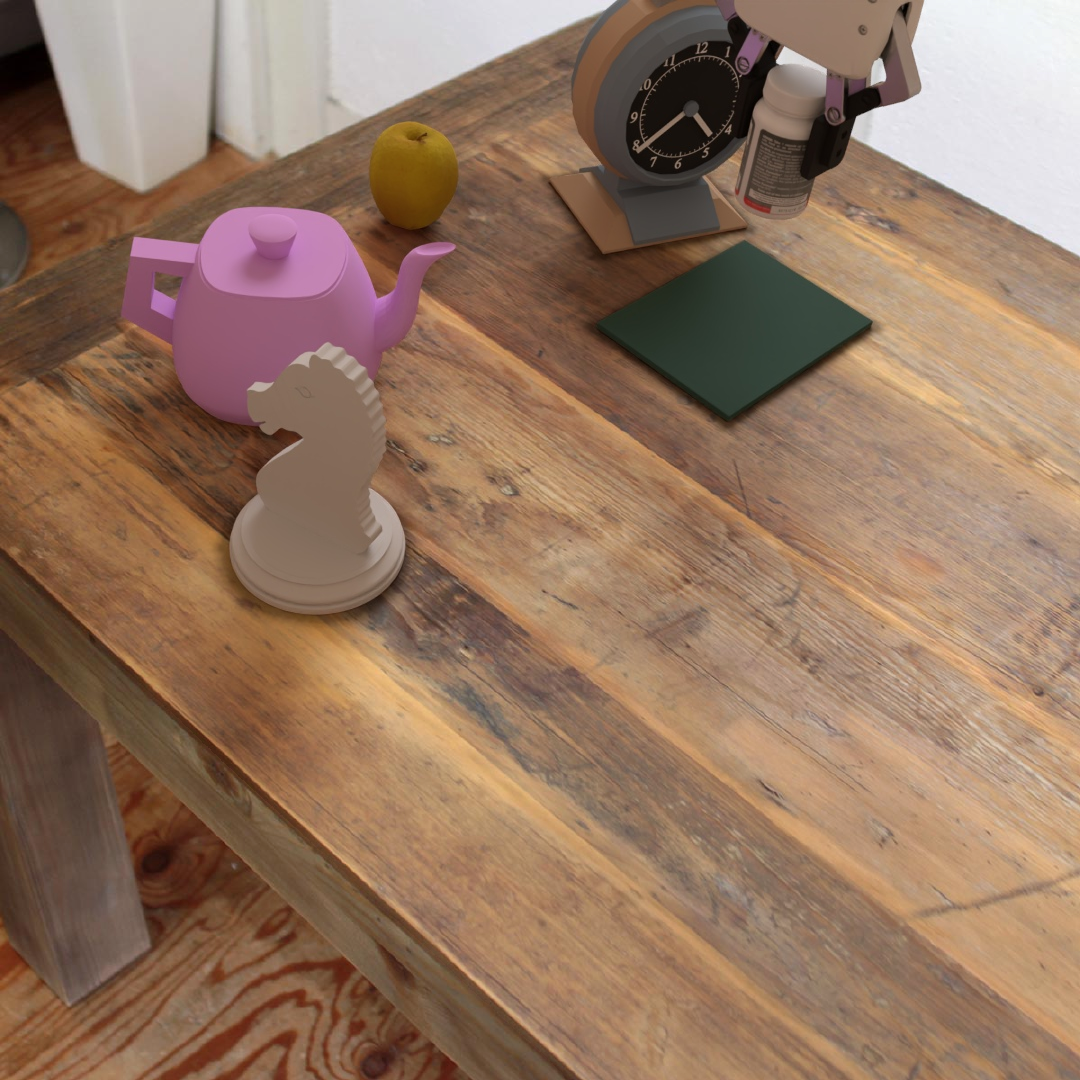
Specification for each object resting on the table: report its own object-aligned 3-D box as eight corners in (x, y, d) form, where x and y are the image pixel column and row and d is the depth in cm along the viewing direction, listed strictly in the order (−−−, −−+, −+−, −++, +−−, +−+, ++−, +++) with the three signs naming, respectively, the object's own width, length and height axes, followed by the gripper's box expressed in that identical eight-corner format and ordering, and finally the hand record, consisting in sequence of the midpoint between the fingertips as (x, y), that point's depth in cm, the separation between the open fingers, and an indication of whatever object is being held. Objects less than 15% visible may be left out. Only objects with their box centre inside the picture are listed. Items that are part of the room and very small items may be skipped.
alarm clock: (590, 256, 97) (626, 25, 84) (537, 182, 103) (562, -45, 90) (758, 225, 102) (817, 2, 89) (698, 156, 108) (745, -63, 95)
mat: (743, 245, 100) (744, 239, 100) (871, 326, 95) (873, 320, 95) (595, 328, 92) (596, 322, 91) (727, 422, 87) (729, 416, 86)
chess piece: (298, 463, 80) (288, 258, 69) (437, 531, 78) (450, 329, 67) (193, 565, 74) (164, 358, 63) (340, 643, 72) (336, 441, 61)
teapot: (446, 451, 82) (455, 308, 74) (113, 436, 80) (84, 287, 72) (448, 314, 91) (457, 172, 83) (148, 297, 89) (127, 151, 81)
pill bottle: (820, 215, 85) (857, 95, 79) (758, 228, 83) (790, 106, 77) (780, 174, 88) (813, 55, 81) (719, 186, 86) (747, 65, 80)
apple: (438, 255, 95) (444, 157, 90) (354, 233, 96) (354, 134, 90) (466, 207, 100) (473, 111, 94) (386, 187, 100) (387, 90, 95)
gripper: (1042, -114, 68) (929, 194, 81) (783, -226, 75) (718, 74, 88) (961, -80, 64) (856, 238, 77) (696, -201, 71) (642, 109, 84)
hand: (784, 148), depth 83 cm, fingers closed on pill bottle, 4 cm apart
